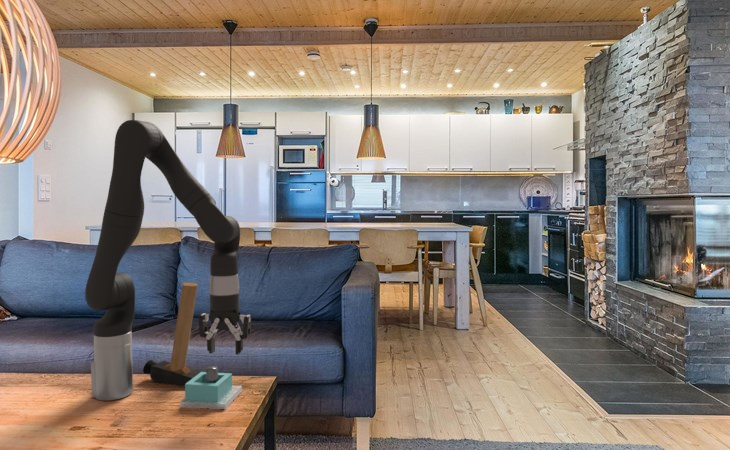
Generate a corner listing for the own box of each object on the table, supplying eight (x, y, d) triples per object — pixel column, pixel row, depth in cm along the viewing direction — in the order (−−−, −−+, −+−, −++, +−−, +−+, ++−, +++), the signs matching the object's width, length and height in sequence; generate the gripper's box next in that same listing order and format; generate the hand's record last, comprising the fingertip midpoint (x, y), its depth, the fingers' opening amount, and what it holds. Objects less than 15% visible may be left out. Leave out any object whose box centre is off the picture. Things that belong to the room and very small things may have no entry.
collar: (185, 399, 126) (185, 384, 126) (201, 385, 135) (201, 371, 134) (217, 401, 125) (217, 386, 124) (232, 387, 133) (232, 373, 133)
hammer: (211, 389, 142) (227, 290, 139) (201, 395, 137) (217, 294, 134) (153, 370, 146) (167, 275, 143) (141, 376, 142) (155, 277, 138)
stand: (180, 407, 124) (179, 375, 124) (200, 389, 136) (200, 359, 136) (225, 409, 123) (224, 377, 123) (241, 391, 135) (241, 361, 134)
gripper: (192, 293, 125) (193, 356, 125) (245, 294, 123) (246, 358, 124) (204, 288, 132) (205, 347, 133) (255, 289, 131) (256, 349, 131)
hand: (225, 352), depth 128 cm, fingers open, 6 cm apart
